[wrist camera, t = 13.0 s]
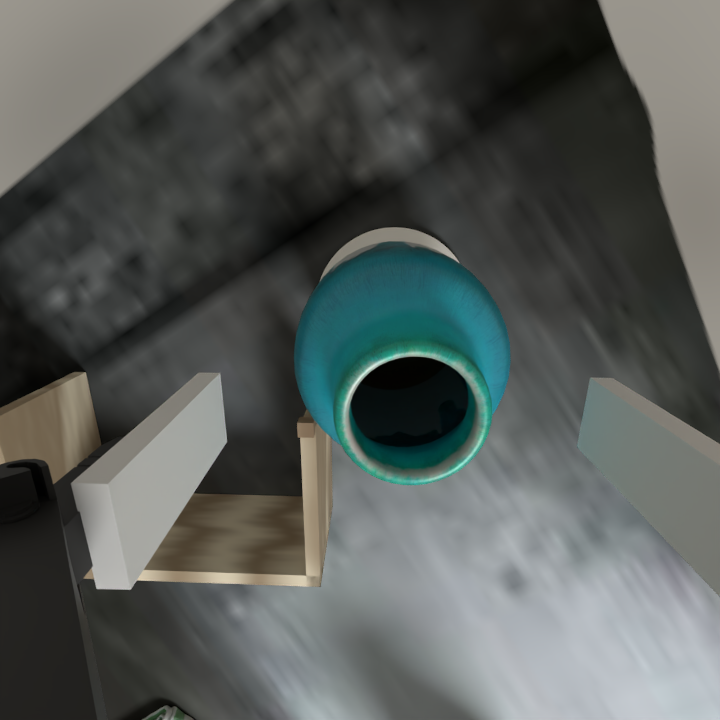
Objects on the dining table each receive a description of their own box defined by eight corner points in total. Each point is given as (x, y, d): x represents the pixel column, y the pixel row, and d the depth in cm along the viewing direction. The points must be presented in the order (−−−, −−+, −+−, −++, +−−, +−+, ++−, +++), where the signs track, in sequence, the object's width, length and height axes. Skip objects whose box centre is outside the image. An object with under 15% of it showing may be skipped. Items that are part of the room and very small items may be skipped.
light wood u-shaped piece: (103, 499, 39) (18, 585, 30) (72, 364, 35) (-38, 415, 26) (332, 506, 38) (318, 596, 29) (330, 369, 34) (313, 423, 25)
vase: (481, 331, 32) (626, 468, 14) (365, 395, 34) (360, 589, 16) (415, 208, 29) (487, 178, 11) (294, 286, 31) (187, 367, 13)
